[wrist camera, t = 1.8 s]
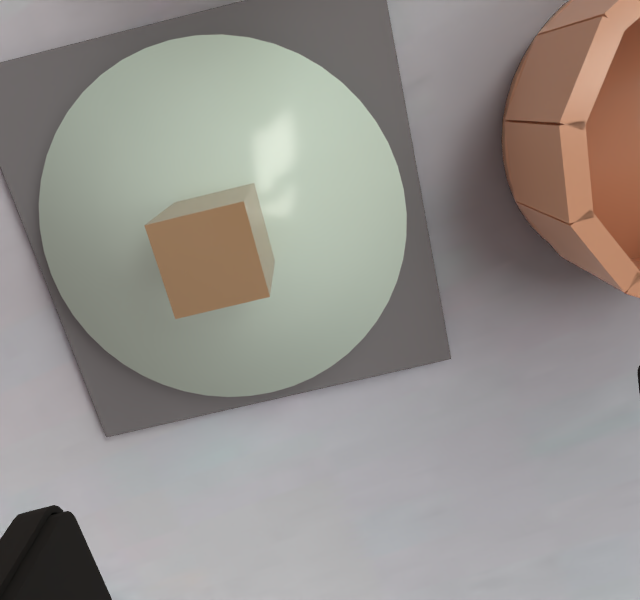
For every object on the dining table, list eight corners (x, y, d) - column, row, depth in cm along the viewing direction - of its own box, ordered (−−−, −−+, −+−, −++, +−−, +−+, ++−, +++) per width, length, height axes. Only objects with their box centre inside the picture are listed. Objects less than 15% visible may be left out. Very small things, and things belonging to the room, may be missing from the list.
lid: (-9, 89, 28) (-106, 83, 22) (362, -6, 28) (384, -43, 21) (117, 418, 34) (72, 497, 27) (430, 346, 33) (465, 407, 26)
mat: (-31, 72, 29) (-37, 71, 28) (378, -31, 28) (380, -34, 27) (109, 431, 35) (106, 437, 34) (448, 354, 34) (451, 358, 33)
